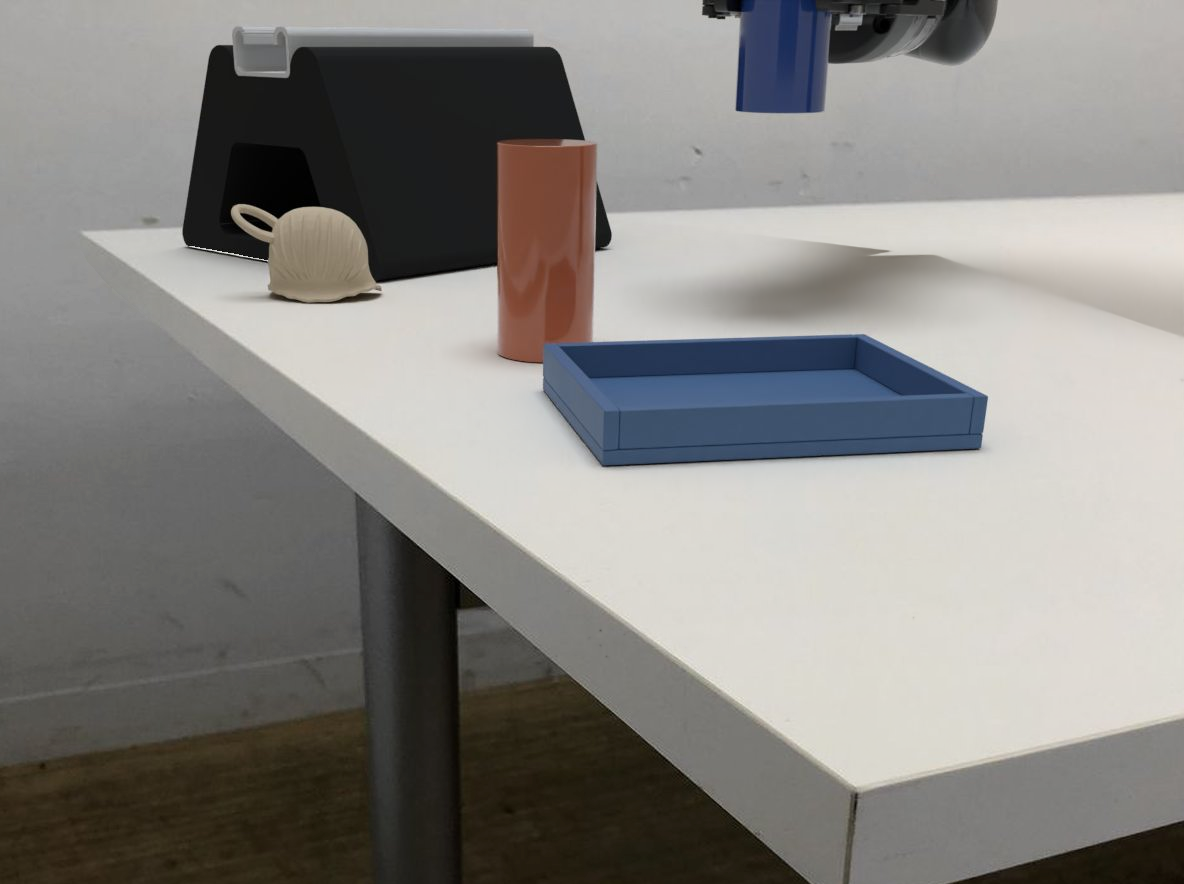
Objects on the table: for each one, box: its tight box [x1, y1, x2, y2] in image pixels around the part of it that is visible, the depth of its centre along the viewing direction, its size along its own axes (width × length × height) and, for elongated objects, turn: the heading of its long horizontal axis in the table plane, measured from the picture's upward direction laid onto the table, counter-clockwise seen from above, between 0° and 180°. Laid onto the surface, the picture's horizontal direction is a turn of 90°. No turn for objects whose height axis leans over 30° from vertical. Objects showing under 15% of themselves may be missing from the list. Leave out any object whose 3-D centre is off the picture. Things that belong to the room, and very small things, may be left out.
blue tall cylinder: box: [734, 0, 832, 114], centre depth 73 cm, size 5×5×10 cm
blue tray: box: [542, 333, 989, 466], centre depth 58 cm, size 15×12×2 cm
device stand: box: [181, 26, 613, 282], centre depth 101 cm, size 22×22×15 cm
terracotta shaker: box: [496, 139, 598, 364], centre depth 68 cm, size 5×5×10 cm
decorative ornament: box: [231, 204, 382, 303], centre depth 83 cm, size 4×8×5 cm, turn 84°
